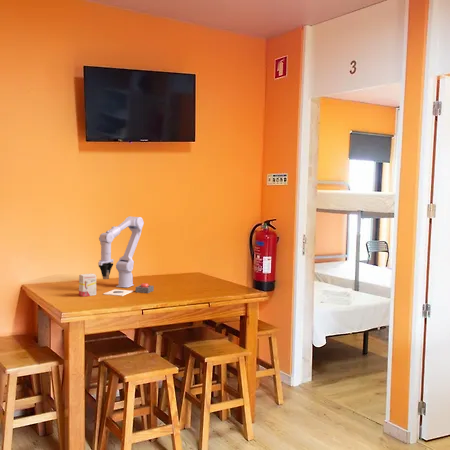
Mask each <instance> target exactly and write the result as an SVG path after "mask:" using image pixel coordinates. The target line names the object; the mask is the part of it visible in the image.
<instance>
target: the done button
mask: <svg viewBox="0 0 450 450" xmlns="http://www.w3.org/2000/svg"><path fill="white" fill-rule="evenodd" d="M140 285H141V287H148V285H149V283H145V282H144V283H143V282H142V283H140Z"/></svg>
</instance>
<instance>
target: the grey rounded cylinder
mask: <svg viewBox="0 0 450 450" xmlns="http://www.w3.org/2000/svg"><path fill="white" fill-rule="evenodd" d="M102 280H110V275H109V270H107V274H106V277H102Z"/></svg>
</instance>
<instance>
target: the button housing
mask: <svg viewBox="0 0 450 450" xmlns="http://www.w3.org/2000/svg"><path fill="white" fill-rule="evenodd" d="M151 292H154V285H149V284H148V287H141V284H140V285H138V286H135V293H143V294H150V293H151Z"/></svg>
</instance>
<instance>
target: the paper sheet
mask: <svg viewBox="0 0 450 450" xmlns="http://www.w3.org/2000/svg"><path fill="white" fill-rule="evenodd" d="M133 292H134V290H127V289H116V288H114V289H112V290H110V291H109V290H108V291H106V292H103V294H102V295H105V296H115V297H124V296H126V295H128V294H130V293H133Z"/></svg>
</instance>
